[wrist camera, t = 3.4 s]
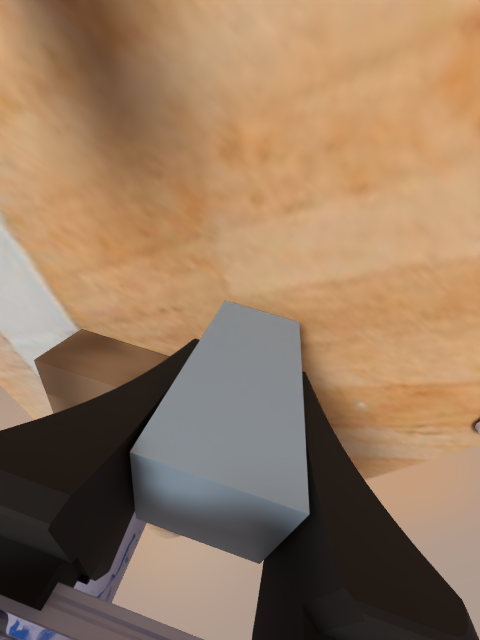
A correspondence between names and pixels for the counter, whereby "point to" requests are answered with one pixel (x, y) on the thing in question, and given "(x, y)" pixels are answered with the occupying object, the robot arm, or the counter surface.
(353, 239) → the counter surface
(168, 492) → the slate peg
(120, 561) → the aerosol can
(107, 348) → the walnut socket holder
